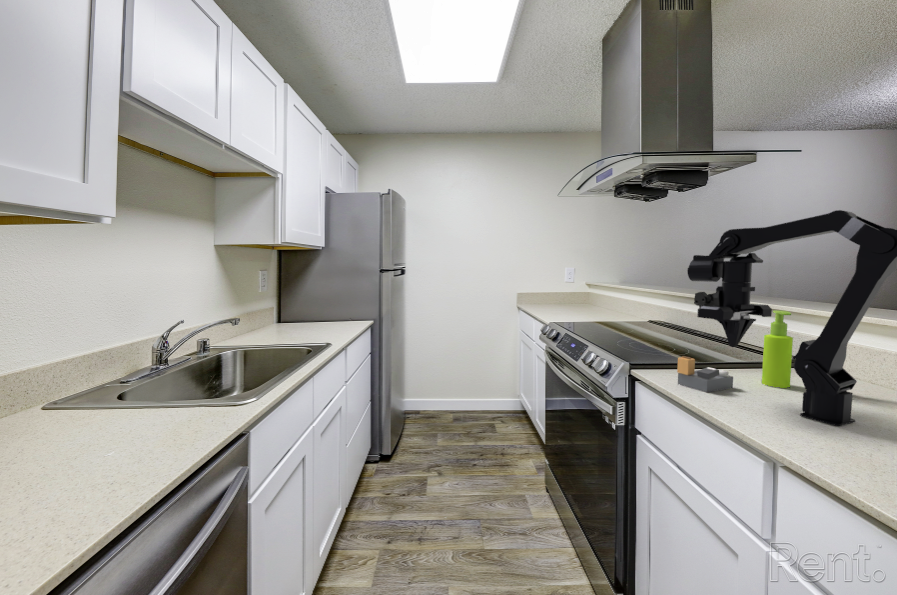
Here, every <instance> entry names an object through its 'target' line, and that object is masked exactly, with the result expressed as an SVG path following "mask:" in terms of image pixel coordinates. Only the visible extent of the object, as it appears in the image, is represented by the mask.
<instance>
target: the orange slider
mask: <svg viewBox="0 0 897 595" xmlns="http://www.w3.org/2000/svg"><path fill="white" fill-rule="evenodd" d="M695 365H696V359H695V358H692V357H690V356H685V355H682V356H681V357H677V369H676V370H677V374H678V373H682V374H686V375H692V374H694V371H696V368H695V367H696V366H695Z"/></svg>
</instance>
